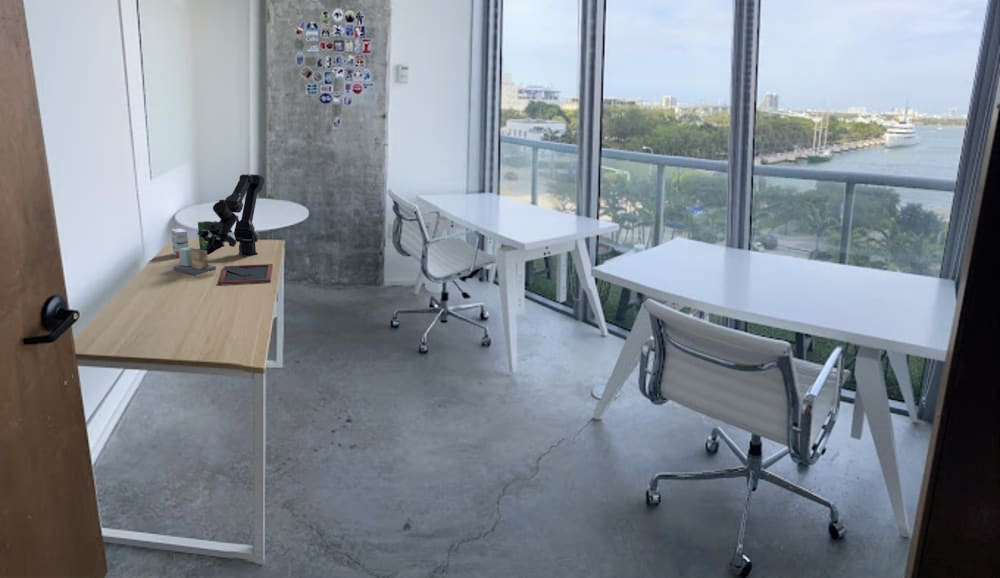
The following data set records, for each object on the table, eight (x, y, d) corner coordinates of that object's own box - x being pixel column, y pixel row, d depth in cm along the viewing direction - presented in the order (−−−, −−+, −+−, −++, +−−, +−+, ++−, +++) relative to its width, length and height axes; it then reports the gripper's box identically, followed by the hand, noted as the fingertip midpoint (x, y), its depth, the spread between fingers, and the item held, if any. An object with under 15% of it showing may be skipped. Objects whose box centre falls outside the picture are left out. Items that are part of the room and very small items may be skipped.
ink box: (190, 256, 337) (187, 231, 334) (178, 257, 334) (175, 232, 331) (184, 252, 343) (181, 227, 340) (173, 254, 340) (170, 229, 337)
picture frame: (224, 270, 318) (218, 286, 295) (224, 265, 318) (218, 281, 295) (272, 267, 323) (270, 283, 300) (272, 263, 323) (270, 279, 300)
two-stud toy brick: (189, 262, 320) (187, 246, 318) (196, 264, 318) (194, 247, 315) (180, 264, 316) (178, 248, 314) (187, 266, 314) (185, 250, 312)
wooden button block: (201, 265, 316) (199, 249, 314) (208, 266, 314) (206, 250, 312) (192, 267, 312) (190, 251, 310) (199, 269, 310) (197, 252, 308)
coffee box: (217, 246, 354) (215, 220, 351) (218, 248, 352) (215, 221, 348) (199, 248, 351) (196, 221, 347) (200, 249, 348) (197, 222, 345)
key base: (194, 264, 323) (194, 261, 323) (215, 269, 316) (215, 266, 316) (173, 270, 315) (173, 266, 314) (194, 275, 308) (194, 271, 307)
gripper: (199, 211, 319) (179, 241, 313) (228, 216, 309) (208, 247, 304) (215, 226, 327) (197, 255, 321) (244, 231, 318) (226, 261, 312)
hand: (206, 254), depth 314 cm, fingers closed
